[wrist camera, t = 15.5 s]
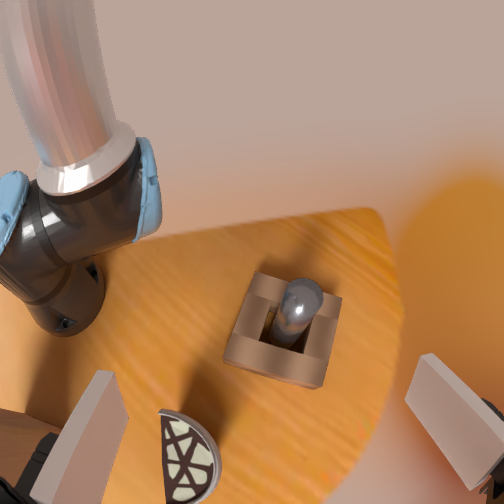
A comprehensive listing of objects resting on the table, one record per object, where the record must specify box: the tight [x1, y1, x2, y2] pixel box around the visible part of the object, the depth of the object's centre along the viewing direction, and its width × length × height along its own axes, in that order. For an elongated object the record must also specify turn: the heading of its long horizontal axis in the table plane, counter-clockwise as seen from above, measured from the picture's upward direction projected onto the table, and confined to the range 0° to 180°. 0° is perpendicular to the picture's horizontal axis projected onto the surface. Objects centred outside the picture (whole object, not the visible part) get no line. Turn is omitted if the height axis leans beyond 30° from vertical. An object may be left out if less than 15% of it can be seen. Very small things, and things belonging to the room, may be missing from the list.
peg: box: [269, 278, 324, 349], centre depth 34 cm, size 4×4×14 cm
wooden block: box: [0, 408, 62, 488], centre depth 17 cm, size 10×10×20 cm
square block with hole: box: [223, 271, 342, 390], centre depth 38 cm, size 13×13×4 cm
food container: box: [158, 409, 222, 504], centre depth 25 cm, size 12×6×10 cm, turn 3°
